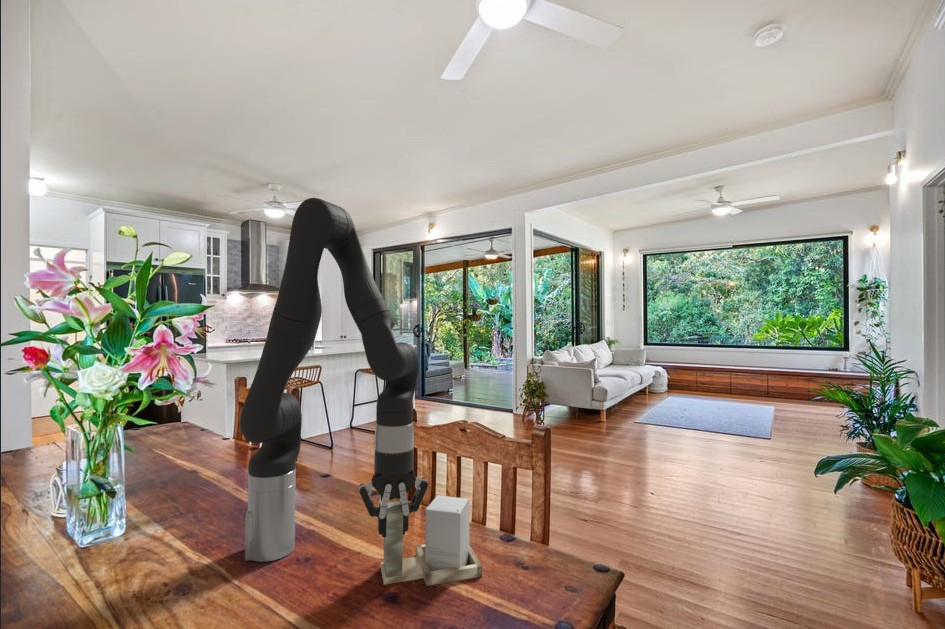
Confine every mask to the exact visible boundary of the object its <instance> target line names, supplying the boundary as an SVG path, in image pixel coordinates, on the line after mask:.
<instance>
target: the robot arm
mask: <svg viewBox="0 0 945 629" xmlns="http://www.w3.org/2000/svg"><path fill="white" fill-rule="evenodd" d="M324 249H327V251H328V252H329V253H330V254H331V256H332V257H333V259H334V261H335V262H336V264H337V266H338V268H339V270H340V273H341V277H342V283H343V284H342V285H343V293H344V300H345V304H346V306H347V308H348V310H349V312H350V314H351V317H352V319H353V322H354V323H355V325H356V327H357V329H358V331H359V333H360V334H361V339H362V346H363V348H364V353H365V357H366V361H367V364H368V366H369V368H370V370H371V371H372V372H373V374H374V375H375V376H376V378H378V379H380V380H381V381H385V382H384V384H385V385H384V388H383V390H382V391H381V393H379V395H378V396H377V399H376V418H375V419H376V421H375V431H374V441H373V444H374V462H373V463H374V468H373V469H374V474H373V476H372V477H371V481H368V482H367V483H365V484H364V483H360V484H359V485H358V492H359V495H360V497H361V499H362V501H363V504H364V506H365V508H366V510H367V513H368V514H369V516H370V517H372V518H374V517H376V518H377V530H378V534H379V535H381V537H382V538H384V537H386V510H387V507H388V502H390V501H391V500H394V499H396V500H399V501H400V504H401V507H402V510H403V536H405V535H406V532H408V530H409V524H410V523H409V521H410V520H409V516H410V514H411V513H412V512H418V510H419V509H420V506H421V504H422V501H423V499H424V497H425V494H426V492H427V489H428V487H429V483H428V481H427V479H426V478H425V477H418V476H416V474H415V472H414V471H415V470H414V462H415V461H414V458H415V457H414V456H415V452H414V451H415V450H414V449H415V447H414V446H415V431H414V418H413V417H414V414H413V413H414V402H413V400H414V396H415V392H416V388H417V383H418V382H417V381H418V376H419V370H420V360H419V356H418V353H417V350H416V348H415V347H414V346H413V345H411V344H410V343H408V342H403V341H402V342H400V341H399V342H397V341H396V339H395V336H394V334H393V331H392V330H393V329H394V326H395V320H394V317H393V315H392V312H391V311H390V309H389V307H388V305H387V303H386V301H385V299H384V297H383V295H382V293H381V291H380V289H379V287H378V285H377V282H376V280H375V279H374V277H373V275H372V272H371V269H370V267H369V264H368V262H367V259H366V256H365V253H364V250H363V247H362V244H361V241H360V238H359V235H358V232H357V228H356V226H355V223H354V220H353V218H352V216H351V215H350V213H349V212H348V211H347V210H346V209H344V208H343V207H341V206H340V205H337V204H334V203H332V202H330V201H327V200H325V199H322V198H318V197H317V198H316V197H308V198H307V199H304V200H303V201H302V202H301V203H300V204H299V205H298V207H297V209H296V211H295V213H294V216H293V218H292V222H291V227H290V234H289V240H288V248H287V252H286V253H287V254H286V260H285V266H284V269H283V274H282V276H281V277H282V278H281V281H280V287H279V290H278V293H277V298H276V300H275V301H276V302H275V304H274V308H273V311H272V314H271V317H270V322H269V326H268V331H267V334H266V339H265V342H264V344H263V349H262V351H261V355H260V359H259V362H258V365H257V370H256V371H255V374H254V377H253V380H252V383H251V385H250V388H249V389H248V393H247V394H246V397H245V400H244V403H243V406H242V408H241V412H240V418H239V427H240V430H241V435H242V436H243V437H244V439H245V440H246V441H248V442H249V443H252V444H261V446H260V448H259V449H258V450H257V451H256V452H255V453H254V454H253V455H252V456H251V457H250V459H249V461H248V464H247V465H248V469H247V470H248V474H247V476H248V477H247V478H248V479H247V480H248V482H247V483H248V484H247V511H246V513H245V525H244V526H245V532H244V534H245V535H244V536H245V538H244V539H245V540H244V541H245V543H244V548H245V549H244V561H245V562H247V561H248V562H249V561H252V562H256V563H257V562H258V563H266V562H272V561H277V560H279V559H282V558H285V557H287V556H288V555H290V554H291V553H292V552H294V550H295V547H296V546H295V545H296V542H295V540H296V479H297V478H296V476H297V475H296V474H297V472H296V471H297V469H296V468H297V467H296V466H297V465H296V464H297V459H298V457H299V455H300V450H301V440H302V439H301V438H302V422H303V421H302V418H303V414H302V409H301V406H300V402H299V401H298V399H297V398H296V397H295V396H294V395H293V394H291V393H288V392H285V390H286V387H287V384H288V383H289V380H290V379H291V377H292V375H293V374H294V372H296V369H297V368H298V367H299V365H301V363H302V362H303V361H304V359H305V357H306V356H307V355H308V353H309V352H310V350H311V348H312V346H313V345H314V342H315V339H316V337H317V333H318V330H319V326H320V323H321V318H322V313H323V312H322V309H323V308H322V305H323V304H322V298H321V293H320V287H319V279H318V276H319V275H318V274H319V268H320V264H321V263H320V262H321V260H322V257H323V253H324ZM413 486H414V488H415V491H414V494H413V497H412V499H411V501H410V502H409V501H408V496H407V494H408V493H409V492H410V490H411V489H412V487H413ZM373 488H374V490H376V492H377V493H378V494H379V495H380V496H379V503H378V506H375V504H374V502H373V499H372V498H371V495H372V493H373V492H372V489H373Z"/></svg>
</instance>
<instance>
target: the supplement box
mask: <svg viewBox="0 0 945 629" xmlns="http://www.w3.org/2000/svg"><path fill="white" fill-rule="evenodd" d="M424 512H425V515H424V516H425V517H424V518H425V525H424V526H425V528H424V529H425V530H424V531H425V533H424V535H425V537H424V538H425V540H424V541H425V542H424V544H425V562H427V563H428V566H429V569H430V571H436V570H442V569H448V568H455V567H456V568H460V567H461V566H467V564H468V563H469V561H468V559H469V544H470V498H464V497H454V496H447V495H441V494H437V495H436V496H435V497H434V499H433V500H432V501H431V502H430V504H428V506H427V507H426V508H424Z"/></svg>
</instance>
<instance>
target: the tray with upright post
mask: <svg viewBox="0 0 945 629" xmlns="http://www.w3.org/2000/svg"><path fill="white" fill-rule="evenodd" d="M403 543H404V535H403V510H402V507H401V503H400V500H399V501H398V500H397V501H391V502H390V501H389V502H388V507H387V510H386V537H383V561H380V570H381V575H382V576H381V578H382V582H383V585H384V586H385V585H391V584H396V583H397V584H398V583H403V582H410V581H415V580H422V579H423V580H424V583H425V586H426V587H428V586H429V587H430V586H434V585H440V584H445V583H446V584H447V583H451V582H457V581H463V580H468V579H469V580H470V579H474V578H475V579H476V578H479V577H481V578H482V577H483V565H482V563H481V562H480V560H479V558H478V556H477V554H476V553H475V552H474V550H473V548H472V545H471V544H470V543H469V559H468V563H469V564H468V565H467V564H466V566H461V567H460V568H456V567H455V568H448V569H442V570H436V571H430V569H429V566H428V563H427V562H425V543H424V544H417V545H415V556H411V557H406V558H404V557H403V556H404V555H403V554H404V553H403V552H404V551H403V550H404V549H403V547H404V544H403Z"/></svg>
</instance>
